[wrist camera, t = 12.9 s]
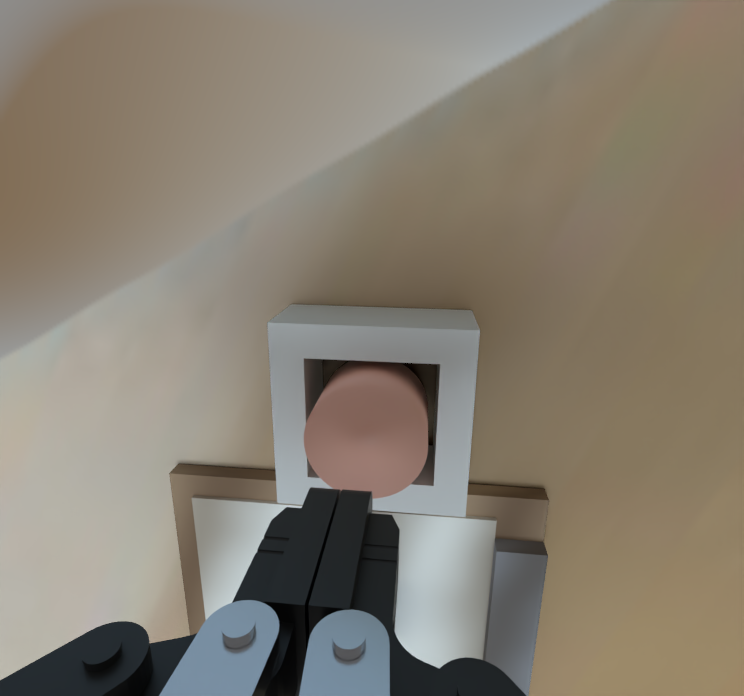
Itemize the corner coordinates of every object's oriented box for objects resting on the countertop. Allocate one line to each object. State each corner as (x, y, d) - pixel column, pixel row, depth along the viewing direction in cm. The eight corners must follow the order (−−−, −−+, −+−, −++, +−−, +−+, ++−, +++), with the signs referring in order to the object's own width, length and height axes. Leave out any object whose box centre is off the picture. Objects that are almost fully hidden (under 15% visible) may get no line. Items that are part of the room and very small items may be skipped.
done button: (430, 358, 18) (431, 389, 15) (425, 456, 19) (425, 503, 16) (321, 353, 18) (301, 382, 15) (323, 450, 19) (305, 494, 16)
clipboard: (544, 489, 20) (554, 512, 19) (516, 702, 24) (522, 736, 22) (178, 463, 22) (159, 483, 20) (203, 667, 25) (188, 697, 24)
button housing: (471, 310, 18) (479, 330, 16) (460, 472, 20) (465, 517, 18) (291, 304, 19) (267, 322, 16) (297, 462, 21) (277, 502, 18)
